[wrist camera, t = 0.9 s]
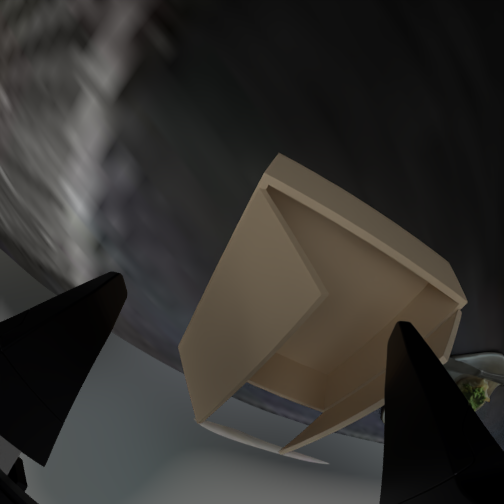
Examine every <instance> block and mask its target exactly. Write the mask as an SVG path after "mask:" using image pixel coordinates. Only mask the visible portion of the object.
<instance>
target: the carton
mask: <svg viewBox="0 0 504 504" xmlns="http://www.w3.org/2000/svg"><path fill="white" fill-rule="evenodd" d="M259 188H261V189H265V190H266V191H267V192H268V194H269V196H270V197H271V199H272V200H273V202H274V203H275V205H276V207H277V208H278V210H279V211H280V213H281V215H282V216H283V218H284V220H285V221H286V223H287V224H288V226H289V228H290V229H291V231H292V233H293V234H294V236H295V237H296V239H297V241H298V242H299V244H300V246H301V247H302V249H303V251H304V252H305V254H306V256H307V257H308V259H309V261H310V262H311V264H312V266H313V268H314V269H315V271H316V273H317V274H318V276H319V278H320V280H321V281H322V283H323V285H324V286H325V288H326V290H327V292H328V293H329V295H328V296H327V297H326V298H325V300H324V301H323V302H322V303H321V304H320V305H319V306H318V308H317V309H316V310H315V311H314V312H313V313H312V314H311V315H310V317H309V318H308V319H307V320H306V321H305V322H304V323H303V324H302V325H301V326H300V327H299V329H298V330H297V331H296V332H295V333H294V334H293V335H292V336H291V337H290V338H289V339H288V340H287V341H286V342H285V343H284V345H283V346H282V347H281V348H280V349H279V350H278V351H277V352H276V353H275V354H274V355H273V356H272V357H271V358H270V359H269V360H268V361H267V362H266V363H265V364H264V365H263V366H262V367H261V368H260V369H259V370H258V371H257V372H256V373H255V374H254V375H253V376H252V377H251V378H250V379H249V380H248V381H247V382H248V383H250V384H252V385H255V386H257V387H259V388H262V389H264V390H266V391H269V392H271V393H273V394H276V395H278V396H281V397H283V398H286V399H288V400H291V401H293V402H296V403H299V404H301V405H304V406H306V407H309V408H312V409H315V410H317V411H320V412H324V411H326V410H328V409H330V408H331V407H333V406H334V405H336V404H338V403H339V402H341V401H342V400H344V399H346V398H347V397H349V396H350V395H352V394H353V393H355V392H356V391H358V390H359V389H361V388H362V387H364V386H365V385H367V384H368V383H370V382H371V381H372V380H374V379H375V378H377V377H378V376H379V375H381V374H382V373H384V372H385V371H386V360H387V344H388V340H389V337H390V335H391V333H392V331H393V329H394V326H395V324H396V323H397V322H398V321H408V322H411V323H412V325H413V326H414V327H415V328H416V330H417V331H418V332H419V334H420V335H421V336H422V337H423V339H424V340H425V339H426V338H427V337H429V336H430V335H431V334H432V333H433V332H434V331H435V330H437V329H438V328H439V327H440V326H441V325H442V324H443V323H444V322H445V321H446V320H447V319H449V318H450V317H451V316H452V315H453V314H454V313H455V312H456V311H457V310H458V309H459V310H460V309H462V308H463V307H464V306H465V305H466V304H467V303H468V301H467V299H466V297H465V294H464V292H463V290H462V288H461V286H460V284H459V282H458V280H457V278H456V276H455V274H454V272H453V270H452V268H451V266H450V264H449V262H448V261H446V260H445V259H444V258H443V257H441V256H440V255H439V254H437V253H436V252H435V251H433V250H432V249H431V248H429V247H428V246H427V245H425V244H424V243H423V242H421V241H420V240H419V239H417V238H416V237H414V236H413V235H412V234H410V233H409V232H407V231H406V230H405V229H403V228H402V227H400V226H399V225H397V224H396V223H394V222H393V221H392V220H390V219H389V218H387V217H386V216H384V215H383V214H381V213H380V212H378V211H377V210H375V209H374V208H372V207H371V206H369V205H367V204H366V203H364V202H363V201H361V200H360V199H358V198H356V197H355V196H353V195H352V194H350V193H348V192H347V191H345V190H344V189H342V188H340V187H339V186H337V185H335V184H334V183H332V182H330V181H329V180H327V179H325V178H323V177H322V176H320V175H318V174H317V173H315V172H313V171H311V170H310V169H308V168H306V167H304V166H303V165H301V164H299V163H297V162H295V161H293V160H292V159H290V158H288V157H286V156H284V155H282V154H280V153H278V155H277V156H276V157H275V159H274V160H273V161H272V163H271V164H270V165H269V167H268V168H267V169H266V171H265V172H264V174H263V176H262V178H261V180H260V182H259V184H258V186H257V187H256V189H255V191H254V193H253V195H252V197H251V199H250V201H249V203H248V205H247V207H246V209H245V211H244V213H243V215H242V217H241V219H240V221H239V223H238V225H237V227H236V229H235V231H234V233H233V235H232V237H231V239H230V241H229V243H228V245H227V247H226V249H225V251H224V253H223V255H222V257H221V259H220V261H219V263H218V265H217V267H216V269H215V271H214V273H213V275H212V277H211V279H210V281H209V283H208V285H207V287H206V289H205V292H204V294H203V296H202V298H201V300H200V302H199V304H198V306H197V308H196V310H195V312H194V314H193V317H192V319H191V321H190V323H189V325H188V327H187V329H186V331H185V333H184V336H183V338H182V340H181V342H180V344H179V346H178V348H180V346H181V344H182V342H183V340H184V337H185V335H186V333H187V331H188V329H189V327H190V325H191V323H192V321H193V319H194V317H195V315H196V313H197V311H198V309H199V307H200V304H201V302H202V300H203V298H204V296H205V294H206V292H207V290H208V288H209V286H210V284H211V282H212V280H213V278H214V276H215V274H216V272H217V270H218V268H219V266H220V264H221V262H222V260H223V258H224V256H225V254H226V252H227V250H228V248H229V246H230V244H231V242H232V240H233V238H234V236H235V234H236V232H237V230H238V228H239V226H240V224H241V223H242V221H243V219H244V217H245V215H246V213H247V211H248V209H249V207H250V205H251V203H252V201H253V199H254V197H255V195H256V193H257V192H258V190H259Z"/></svg>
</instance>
